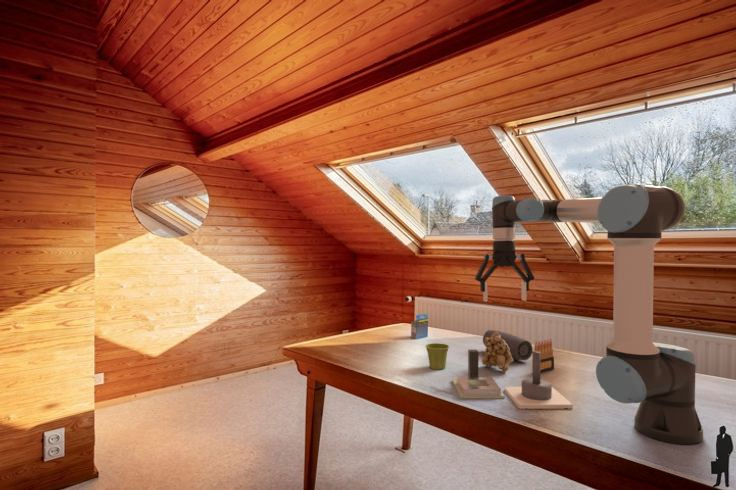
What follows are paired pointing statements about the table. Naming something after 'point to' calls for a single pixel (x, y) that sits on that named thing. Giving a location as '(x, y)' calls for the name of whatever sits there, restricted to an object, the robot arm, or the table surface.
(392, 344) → the table surface
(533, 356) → the stand
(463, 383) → the pink square frame
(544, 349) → the ammunition clip
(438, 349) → the plant pot
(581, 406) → the table surface
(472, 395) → the mat
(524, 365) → the table surface
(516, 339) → the bluetooth speaker
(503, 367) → the mineral formation
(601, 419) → the table surface
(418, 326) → the label tape box
